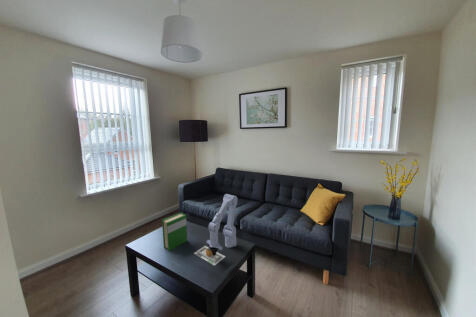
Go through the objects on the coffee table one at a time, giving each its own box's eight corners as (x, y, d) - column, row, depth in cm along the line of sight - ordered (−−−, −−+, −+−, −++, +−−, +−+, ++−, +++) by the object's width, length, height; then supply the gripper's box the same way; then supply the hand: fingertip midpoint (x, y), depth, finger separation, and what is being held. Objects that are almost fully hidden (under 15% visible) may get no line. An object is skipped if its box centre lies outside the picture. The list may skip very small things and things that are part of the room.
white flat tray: (205, 247, 156) (205, 244, 156) (225, 258, 143) (225, 255, 143) (193, 255, 147) (193, 252, 146) (214, 267, 134) (214, 264, 133)
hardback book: (168, 251, 151) (167, 222, 148) (163, 247, 156) (162, 220, 152) (187, 241, 165) (186, 214, 161) (182, 237, 170) (180, 212, 166)
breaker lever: (209, 252, 147) (209, 246, 146) (212, 254, 145) (212, 248, 144) (206, 255, 144) (205, 249, 143) (208, 256, 142) (208, 250, 141)
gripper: (203, 237, 140) (203, 253, 142) (217, 244, 131) (217, 262, 134) (210, 233, 146) (210, 249, 148) (224, 239, 137) (224, 256, 139)
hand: (214, 255), depth 141 cm, fingers closed
